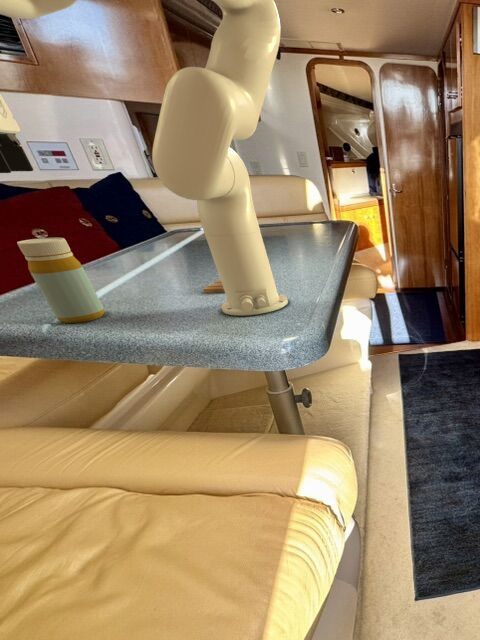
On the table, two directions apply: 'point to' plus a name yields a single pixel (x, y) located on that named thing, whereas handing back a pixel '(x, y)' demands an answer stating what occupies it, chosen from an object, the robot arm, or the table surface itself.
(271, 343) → the table surface
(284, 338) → the table surface
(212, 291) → the trivet
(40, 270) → the bottle
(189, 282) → the table surface
